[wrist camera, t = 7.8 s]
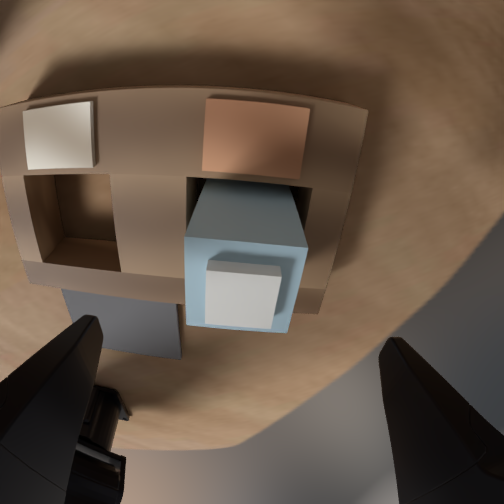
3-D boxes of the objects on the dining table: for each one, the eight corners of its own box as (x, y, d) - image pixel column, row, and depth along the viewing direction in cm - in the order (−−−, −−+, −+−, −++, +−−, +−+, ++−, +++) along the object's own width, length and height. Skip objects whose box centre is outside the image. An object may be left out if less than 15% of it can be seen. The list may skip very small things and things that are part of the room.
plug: (276, 243, 18) (288, 344, 12) (206, 237, 18) (184, 335, 11) (286, 178, 16) (311, 257, 10) (210, 170, 16) (180, 246, 9)
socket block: (310, 281, 20) (318, 317, 17) (50, 257, 19) (27, 285, 16) (347, 103, 14) (370, 111, 11) (26, 100, 13) (-10, 110, 10)
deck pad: (181, 356, 24) (181, 359, 23) (82, 340, 23) (81, 343, 23) (174, 264, 19) (173, 267, 18) (54, 252, 18) (51, 255, 18)
